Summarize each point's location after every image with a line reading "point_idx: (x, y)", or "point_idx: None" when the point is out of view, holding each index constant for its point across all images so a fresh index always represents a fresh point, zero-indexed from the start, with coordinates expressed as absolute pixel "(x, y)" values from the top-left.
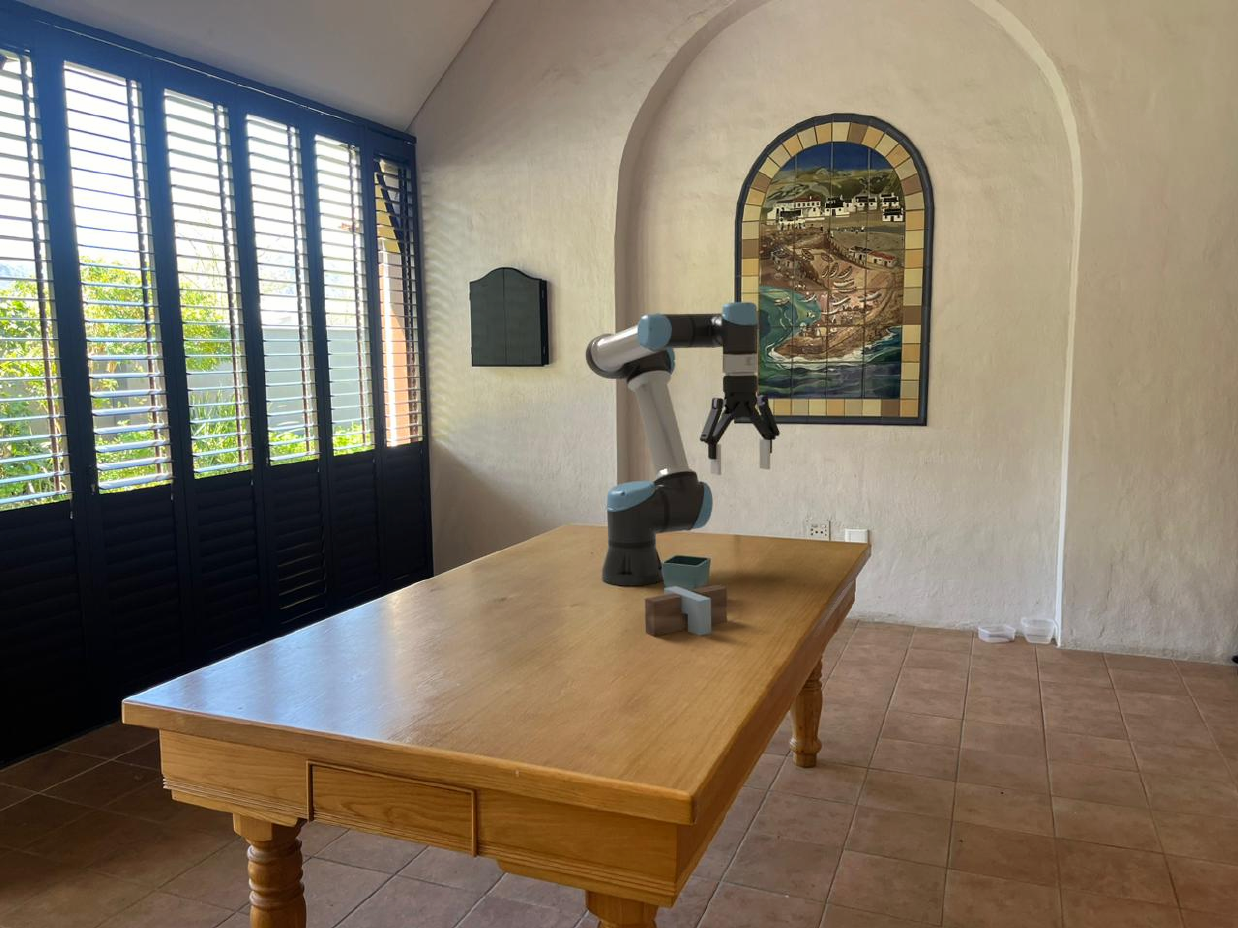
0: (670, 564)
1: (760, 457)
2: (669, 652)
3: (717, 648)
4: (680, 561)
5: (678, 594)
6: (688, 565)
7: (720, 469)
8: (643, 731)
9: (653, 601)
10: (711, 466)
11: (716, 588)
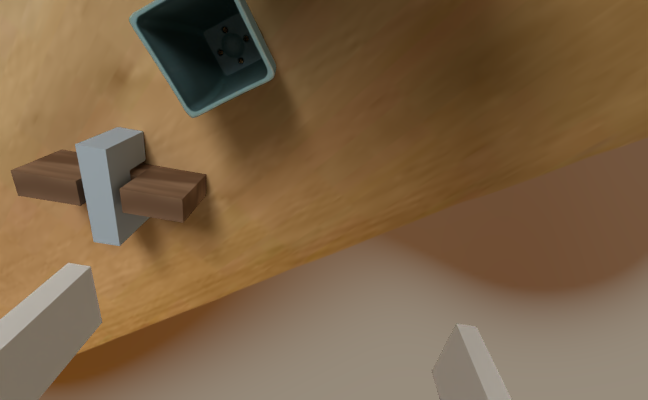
0: (145, 46)
1: (480, 397)
2: (59, 229)
3: (123, 257)
4: None
5: (85, 189)
6: (176, 95)
7: (75, 347)
8: None
9: (19, 193)
10: (29, 303)
11: (165, 213)
